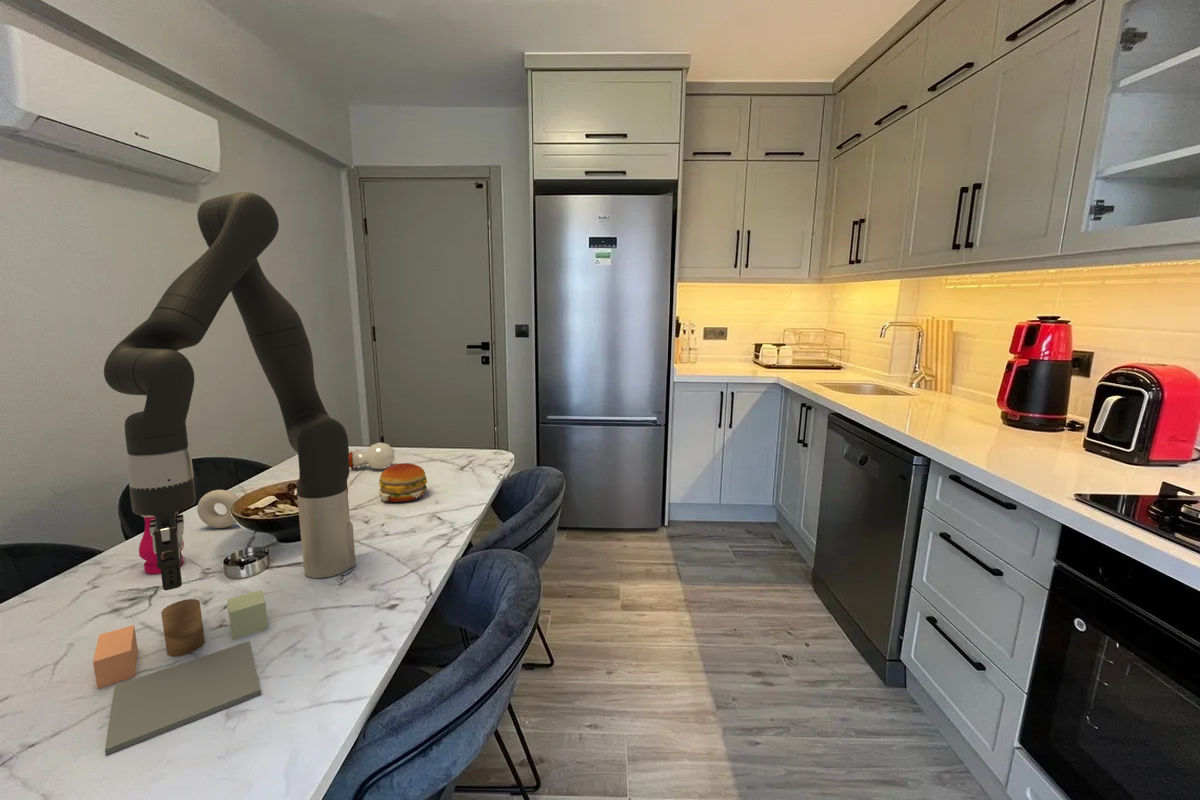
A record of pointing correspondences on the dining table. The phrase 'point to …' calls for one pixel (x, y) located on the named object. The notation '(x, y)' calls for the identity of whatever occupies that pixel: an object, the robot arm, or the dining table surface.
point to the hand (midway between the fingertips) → (173, 576)
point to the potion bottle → (373, 457)
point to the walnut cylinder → (183, 627)
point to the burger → (402, 482)
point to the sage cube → (247, 614)
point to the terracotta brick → (115, 656)
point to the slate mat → (180, 695)
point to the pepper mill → (149, 549)
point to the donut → (208, 511)
